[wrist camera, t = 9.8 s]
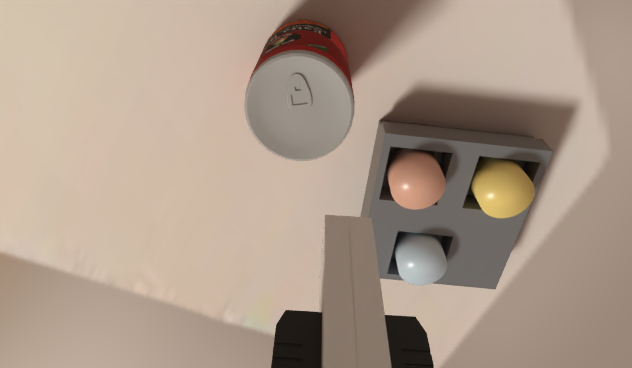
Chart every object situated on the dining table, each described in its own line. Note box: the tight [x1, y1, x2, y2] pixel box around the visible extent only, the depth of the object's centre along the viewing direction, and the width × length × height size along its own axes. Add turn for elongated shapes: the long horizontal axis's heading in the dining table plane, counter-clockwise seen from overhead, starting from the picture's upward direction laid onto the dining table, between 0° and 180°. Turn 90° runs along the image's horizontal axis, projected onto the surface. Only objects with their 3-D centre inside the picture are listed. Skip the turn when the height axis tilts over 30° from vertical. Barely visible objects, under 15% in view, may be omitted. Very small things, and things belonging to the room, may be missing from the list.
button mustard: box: [470, 157, 535, 218], centre depth 42 cm, size 5×5×4 cm
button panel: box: [361, 120, 553, 289], centre depth 46 cm, size 16×15×4 cm
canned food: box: [245, 20, 354, 161], centre depth 36 cm, size 8×8×11 cm
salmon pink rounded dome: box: [386, 148, 446, 210], centre depth 42 cm, size 5×5×4 cm
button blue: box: [394, 231, 447, 285], centre depth 47 cm, size 5×5×4 cm
